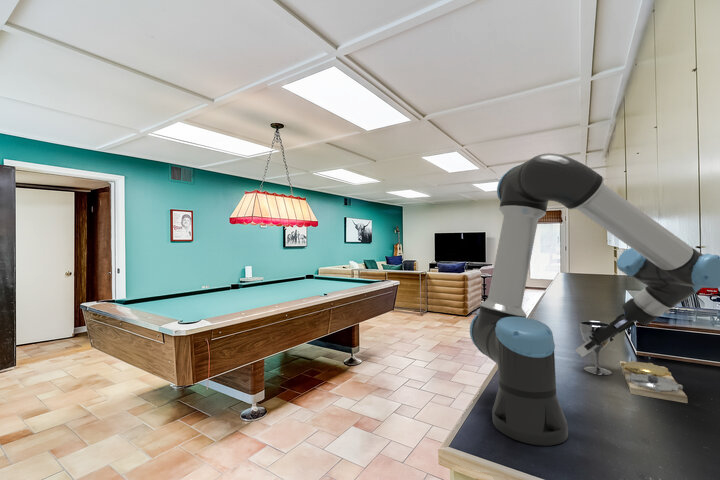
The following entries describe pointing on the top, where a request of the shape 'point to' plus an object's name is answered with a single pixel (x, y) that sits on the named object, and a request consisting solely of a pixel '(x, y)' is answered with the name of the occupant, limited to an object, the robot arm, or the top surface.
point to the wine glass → (591, 330)
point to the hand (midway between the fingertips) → (584, 350)
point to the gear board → (651, 393)
